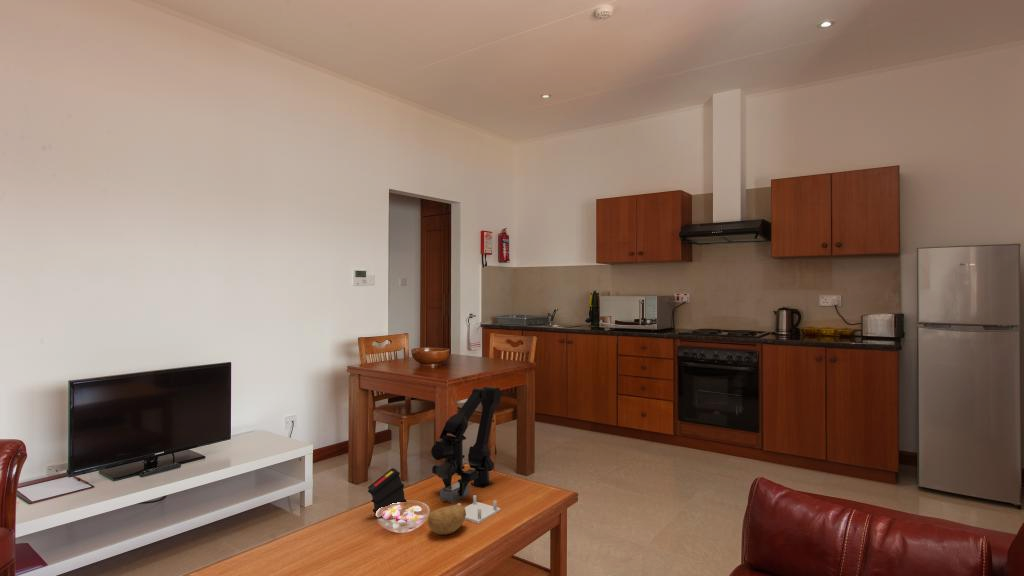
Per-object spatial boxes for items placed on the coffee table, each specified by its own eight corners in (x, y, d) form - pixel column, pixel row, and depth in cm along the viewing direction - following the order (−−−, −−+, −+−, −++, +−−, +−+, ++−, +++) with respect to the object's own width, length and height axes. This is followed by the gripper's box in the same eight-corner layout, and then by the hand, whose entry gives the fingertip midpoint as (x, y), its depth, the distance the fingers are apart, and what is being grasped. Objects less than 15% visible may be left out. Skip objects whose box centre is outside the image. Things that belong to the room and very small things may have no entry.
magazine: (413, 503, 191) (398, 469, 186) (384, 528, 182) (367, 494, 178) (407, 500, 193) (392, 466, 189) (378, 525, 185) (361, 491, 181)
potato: (473, 530, 173) (473, 505, 173) (439, 544, 163) (439, 518, 163) (455, 520, 179) (455, 497, 180) (420, 534, 169) (421, 509, 170)
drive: (457, 491, 206) (457, 480, 206) (469, 495, 203) (469, 484, 203) (440, 500, 198) (440, 488, 198) (452, 503, 195) (452, 492, 195)
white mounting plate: (475, 503, 194) (475, 493, 194) (500, 510, 188) (500, 499, 188) (453, 515, 183) (453, 504, 183) (478, 523, 177) (478, 512, 177)
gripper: (422, 454, 199) (421, 495, 199) (460, 463, 189) (460, 507, 189) (441, 447, 208) (441, 487, 208) (479, 455, 198) (479, 497, 198)
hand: (454, 494), depth 200 cm, fingers closed on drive, 6 cm apart
